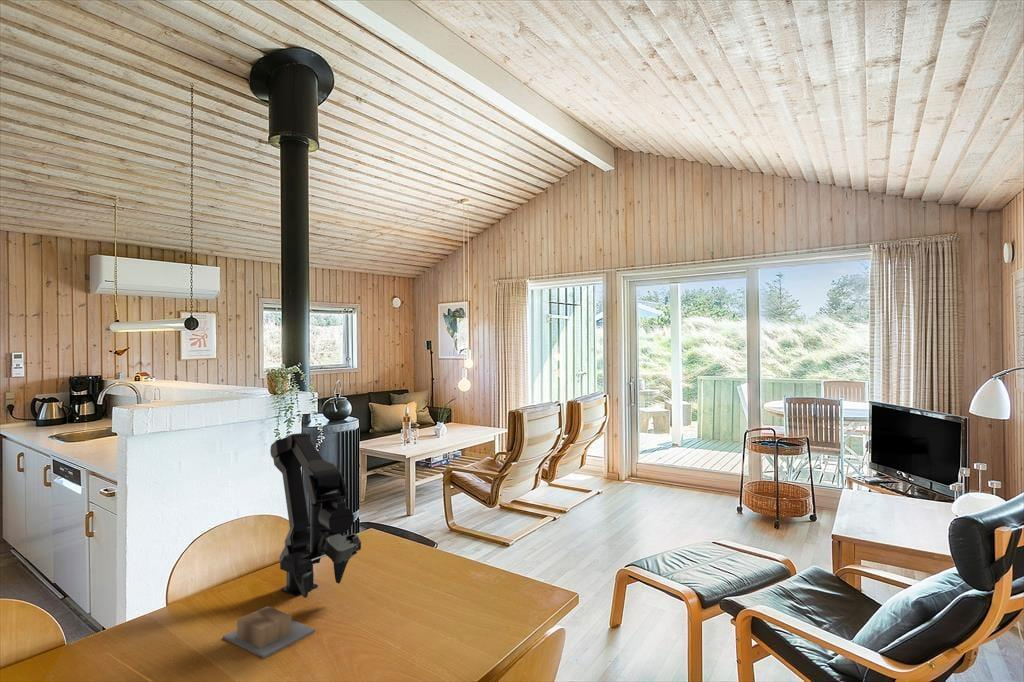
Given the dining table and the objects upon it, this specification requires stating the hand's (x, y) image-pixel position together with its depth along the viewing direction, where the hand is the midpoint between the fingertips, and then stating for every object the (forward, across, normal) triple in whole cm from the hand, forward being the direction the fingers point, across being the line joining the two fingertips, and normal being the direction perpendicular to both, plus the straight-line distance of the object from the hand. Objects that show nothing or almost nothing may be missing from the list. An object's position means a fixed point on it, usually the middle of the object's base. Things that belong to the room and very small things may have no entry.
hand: (322, 589), depth 125 cm
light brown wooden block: (+2, -11, 0) cm, 11 cm away
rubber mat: (+4, -14, 0) cm, 14 cm away
